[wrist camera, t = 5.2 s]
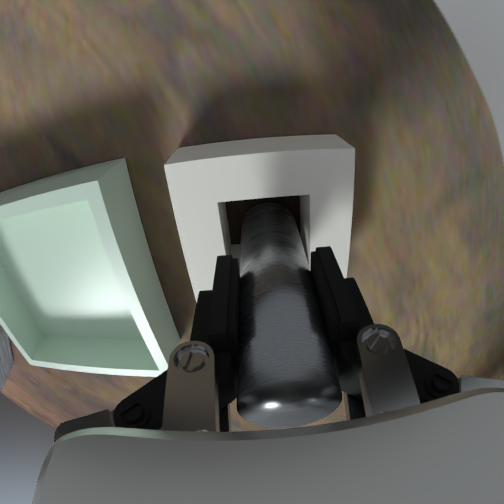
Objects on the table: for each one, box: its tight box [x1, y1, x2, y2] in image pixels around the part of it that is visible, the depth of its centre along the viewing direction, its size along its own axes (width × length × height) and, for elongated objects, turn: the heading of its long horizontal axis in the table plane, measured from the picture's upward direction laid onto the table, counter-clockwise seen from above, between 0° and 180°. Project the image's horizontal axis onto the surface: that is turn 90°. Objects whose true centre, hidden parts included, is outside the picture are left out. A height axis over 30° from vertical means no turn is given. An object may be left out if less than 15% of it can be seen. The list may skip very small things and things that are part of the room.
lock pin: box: [237, 202, 342, 428], centre depth 11 cm, size 3×3×10 cm
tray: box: [0, 158, 180, 377], centre depth 17 cm, size 14×14×4 cm
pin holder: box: [164, 134, 355, 303], centre depth 15 cm, size 8×8×3 cm
